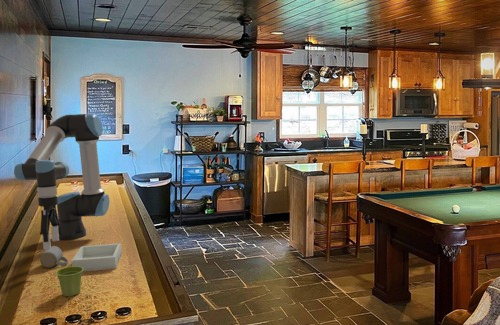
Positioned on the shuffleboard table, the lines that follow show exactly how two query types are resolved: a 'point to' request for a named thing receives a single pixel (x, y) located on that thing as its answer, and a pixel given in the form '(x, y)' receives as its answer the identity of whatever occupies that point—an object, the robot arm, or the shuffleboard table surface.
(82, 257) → the bin
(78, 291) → the plant pot
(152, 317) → the shuffleboard table surface
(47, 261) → the ceramic mug
